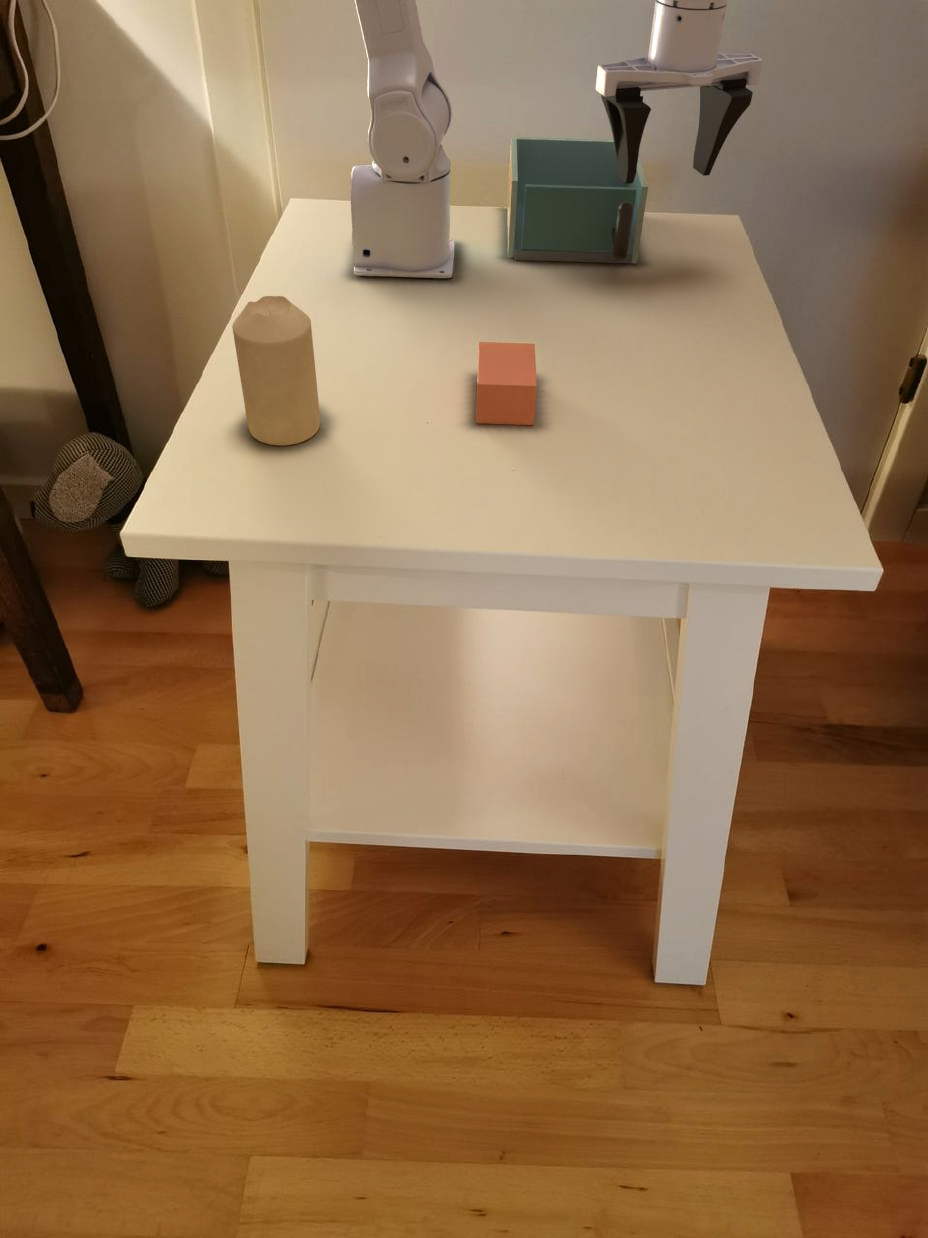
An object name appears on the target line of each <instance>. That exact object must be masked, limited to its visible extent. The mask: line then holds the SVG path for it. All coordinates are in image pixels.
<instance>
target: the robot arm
mask: <svg viewBox="0 0 928 1238" xmlns="http://www.w3.org/2000/svg"><path fill="white" fill-rule="evenodd" d="M728 1H729V0H655V2H654V9H653V18H652V25H651V32H650V37H649V47H648V53H647V55H645V56H644V55H643V56H639V57H636V58H631V59H626V60H622V61H618V62H612V63H604V64H598V65H597V70H596V80H595V89H594V90H595V91H596V92H597V93H599V94H600V97H601V101H602V103H603V106H604V109H605V113H606V115H607V118H608V120H609V126H610V129H611V134H612V138H613V139H612V140H614V145H615V152H616V162H617V176H618V177H619V178H620V179H621V180H622V181H623V182H624V183H626V184H629V183H633V182H634V179H635V175H636V170H637V163H638V155H639V156H640V148H641V142H642V138H643V135H644V131H645V127H646V124H647V122H648V118H649V117H650V113H651V111H652V108H651V106H649V105H648V104H647V103H646V102H644V96H643V95H641V94H642V93H641V92H648V91H659V90H673V89H685V88H686V89H687V88H697V87H699V116H698V117H699V119H698V129H697V134H696V139H695V145H694V151H693V159H692V169H693V170H695V171H696V172H697V173H699V174H700V175H702V177H706V176H710V175H711V173H712V171H713V168H714V166H715V163H716V161H717V158H718V156H719V155H720V152H721V150H722V148H723V146H724V144H725V142H726V140H727V138H728V137H729V135H730V133H731V131H732V130H733V128H734V126H735V125H736V123H737V122H738V121H739V119H740V118H741V117H742V115H743V114H744V113H745V112H746V110H747V109H748V108H749V107H750V106H751V102H752V99H753V91H752V90H751V89H749V88H747V86H755V85H756V86H757V85H758V84H759V82H760V77H761V71H762V67H763V63H764V59H763V58H760V57H759V56H756V55H755V54H753V53H739V54H738V53H719V50H720V45H721V39H722V35H723V34H722V33H723V28H724V23H725V17H726V12H727V7H728ZM354 3H355V8H356V11H357V17H358V20H359V25H360V29H361V34H362V39H363V43H364V48H365V51H366V57H367V63H368V64H367V98H368V103H369V107H370V122H369V123H370V124H369V127H368V131H367V146H368V149H369V153H370V156H371V158H372V163H370V164H364V165H354V166H353V167H352V170H351V177H350V215H351V218H350V219H351V243H352V247H353V248H352V249H353V263H354V267H353V274H354V275H355V276H362V277H363V276H367V277H397V278H398V277H399V278H425V279H426V278H427V279H428V278H430V279H431V278H432V279H450V278H453V274H454V273H453V271H454V260H455V259H454V258H455V247H456V242H455V241H454V240H453V239H451V161H450V160H451V159H450V158H449V157H448V155H447V154H446V152H445V150H444V147H443V145H442V141H443V139H444V137H445V136H446V134H447V133H448V130H449V128H450V125H451V123H452V116H453V114H452V112H453V111H452V110H453V109H452V104H451V100H450V98H449V95H448V93H447V92H446V90H445V88H444V87H443V86H442V84H441V83H440V82H439V79H438V78H437V76H436V75H437V74H436V72H435V67H434V62H433V59H432V56H431V54H430V51H429V50H428V48H427V46H426V43H425V41H424V37H423V33H422V27H421V22H420V17H419V12H418V7H417V0H354Z"/></svg>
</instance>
